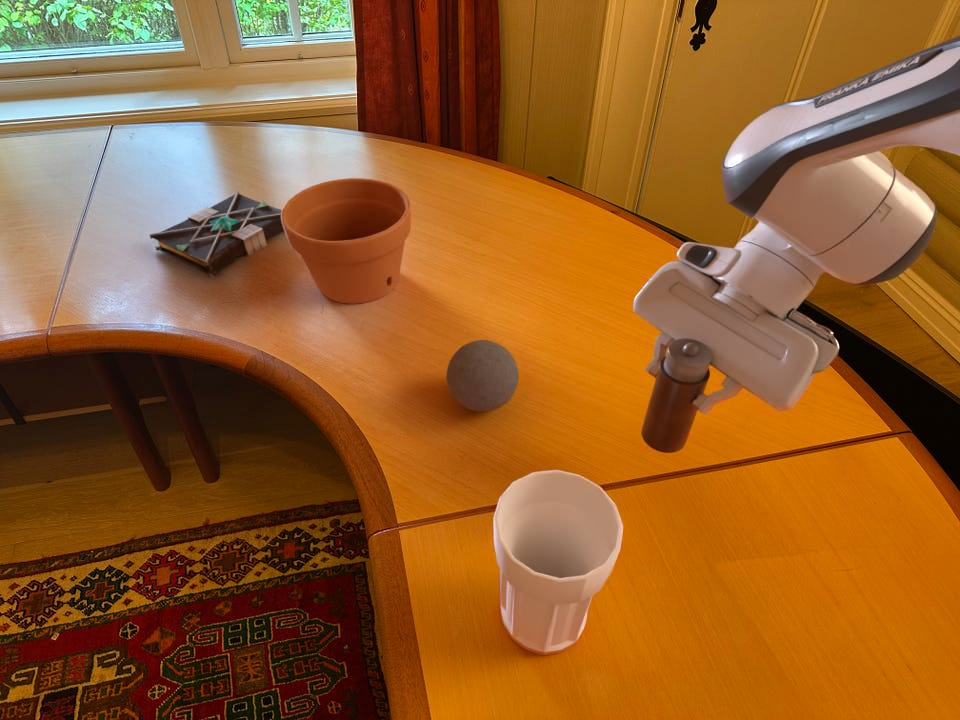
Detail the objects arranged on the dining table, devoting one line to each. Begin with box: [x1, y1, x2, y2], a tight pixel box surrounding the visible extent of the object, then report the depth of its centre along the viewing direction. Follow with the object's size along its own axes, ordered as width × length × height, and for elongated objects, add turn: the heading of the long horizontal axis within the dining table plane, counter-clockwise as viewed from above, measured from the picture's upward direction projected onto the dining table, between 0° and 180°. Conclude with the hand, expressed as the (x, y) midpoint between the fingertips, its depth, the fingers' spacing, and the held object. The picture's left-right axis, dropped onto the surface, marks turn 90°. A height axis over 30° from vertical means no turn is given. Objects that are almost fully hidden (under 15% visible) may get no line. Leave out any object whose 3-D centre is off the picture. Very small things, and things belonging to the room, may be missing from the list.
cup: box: [493, 469, 624, 656], centre depth 59 cm, size 11×11×17 cm
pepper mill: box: [640, 338, 712, 454], centre depth 67 cm, size 5×5×14 cm
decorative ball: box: [446, 339, 519, 413], centre depth 84 cm, size 10×10×10 cm
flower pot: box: [281, 177, 412, 305], centre depth 104 cm, size 21×21×15 cm
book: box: [149, 190, 285, 279], centre depth 118 cm, size 22×17×5 cm
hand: (673, 392), depth 66 cm, fingers closed on pepper mill, 5 cm apart
